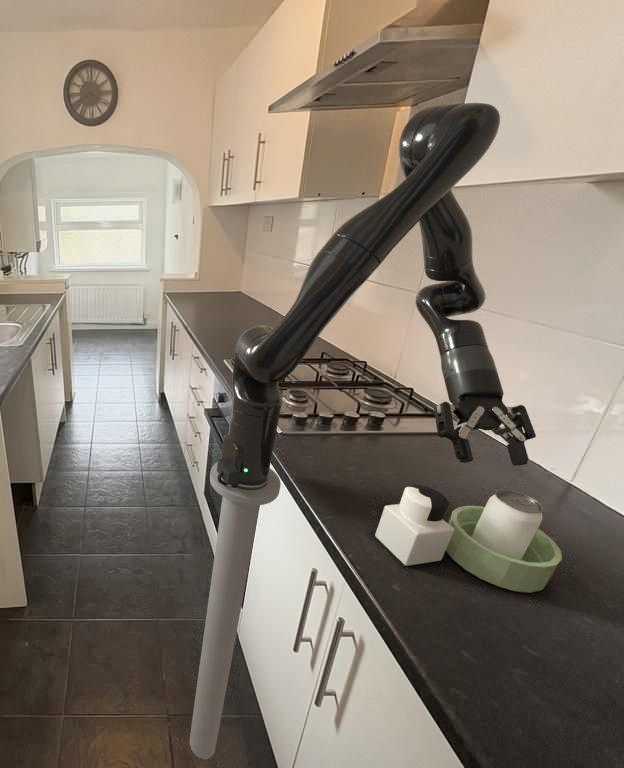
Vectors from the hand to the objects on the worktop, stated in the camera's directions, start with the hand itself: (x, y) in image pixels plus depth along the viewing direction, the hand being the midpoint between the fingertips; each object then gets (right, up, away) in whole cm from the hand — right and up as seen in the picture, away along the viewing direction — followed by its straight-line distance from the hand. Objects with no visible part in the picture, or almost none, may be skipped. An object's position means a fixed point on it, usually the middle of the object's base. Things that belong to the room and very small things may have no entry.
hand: (493, 463), depth 70 cm
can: (0, -16, 0) cm, 16 cm away
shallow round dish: (0, -17, 0) cm, 17 cm away
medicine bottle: (-13, -16, +3) cm, 20 cm away
